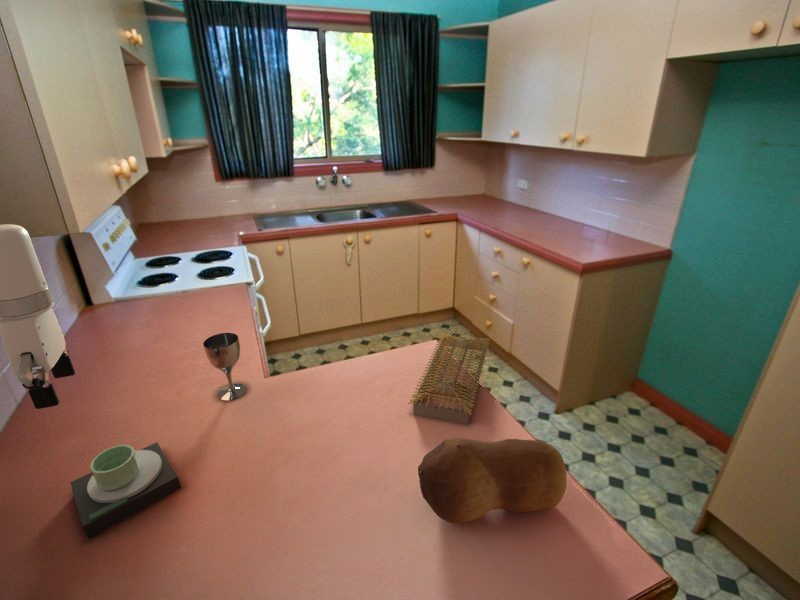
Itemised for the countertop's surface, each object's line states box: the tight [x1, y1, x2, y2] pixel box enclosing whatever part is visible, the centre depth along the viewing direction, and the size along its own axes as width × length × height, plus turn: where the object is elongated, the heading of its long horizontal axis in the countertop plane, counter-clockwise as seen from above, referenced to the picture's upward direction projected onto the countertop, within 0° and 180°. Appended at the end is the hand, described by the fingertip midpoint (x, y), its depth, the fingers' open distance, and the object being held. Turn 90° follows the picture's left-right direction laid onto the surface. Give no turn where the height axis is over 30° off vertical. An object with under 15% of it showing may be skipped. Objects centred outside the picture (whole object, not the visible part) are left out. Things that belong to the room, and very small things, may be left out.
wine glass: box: [202, 332, 248, 402], centre depth 105 cm, size 8×8×15 cm
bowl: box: [89, 444, 140, 490], centre depth 78 cm, size 7×7×5 cm
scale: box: [69, 441, 182, 540], centre depth 80 cm, size 15×13×4 cm
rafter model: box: [408, 332, 491, 425], centre depth 110 cm, size 35×14×6 cm, turn 162°
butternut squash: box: [417, 436, 568, 524], centre depth 73 cm, size 14×13×25 cm
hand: (57, 390), depth 76 cm, fingers open, 9 cm apart
